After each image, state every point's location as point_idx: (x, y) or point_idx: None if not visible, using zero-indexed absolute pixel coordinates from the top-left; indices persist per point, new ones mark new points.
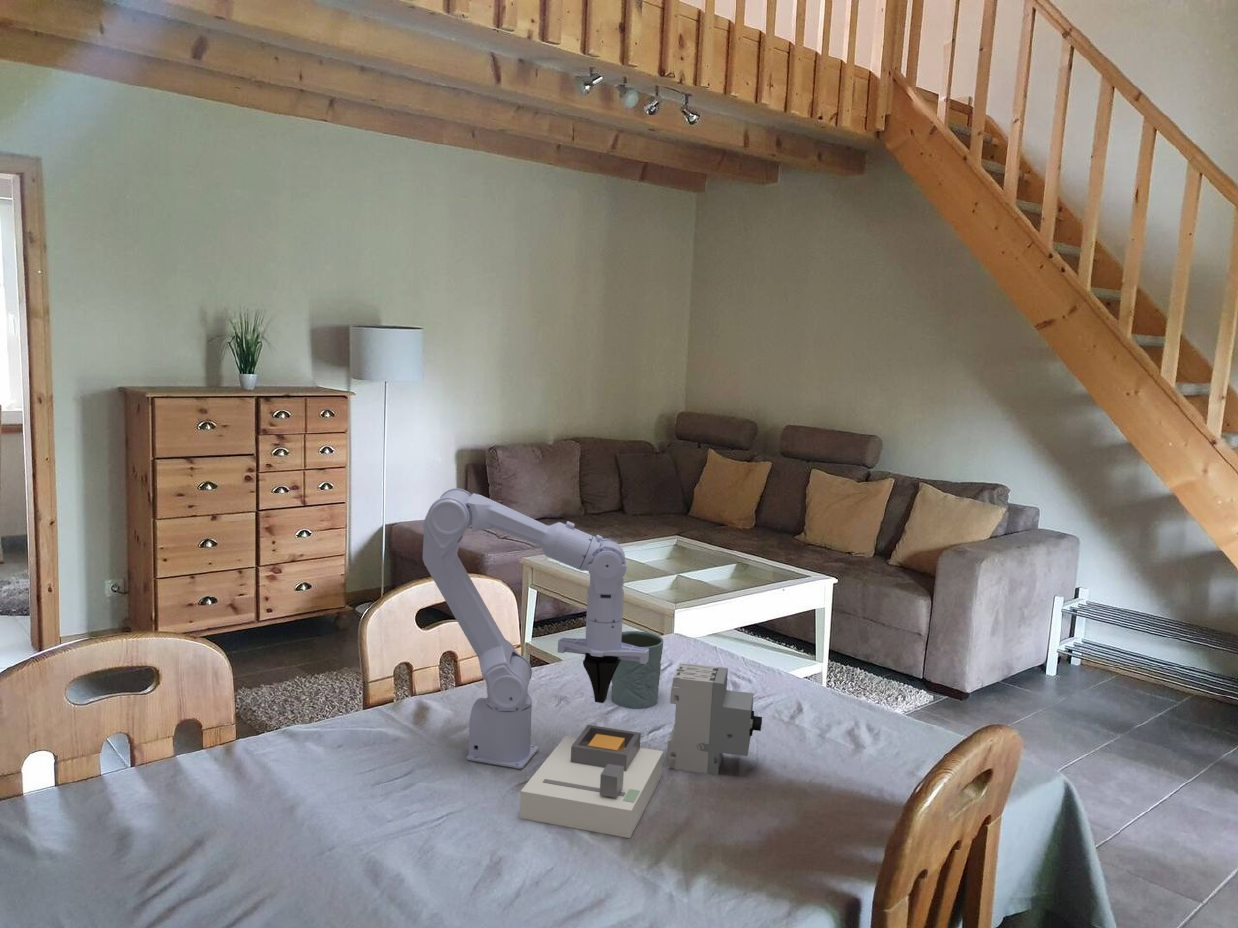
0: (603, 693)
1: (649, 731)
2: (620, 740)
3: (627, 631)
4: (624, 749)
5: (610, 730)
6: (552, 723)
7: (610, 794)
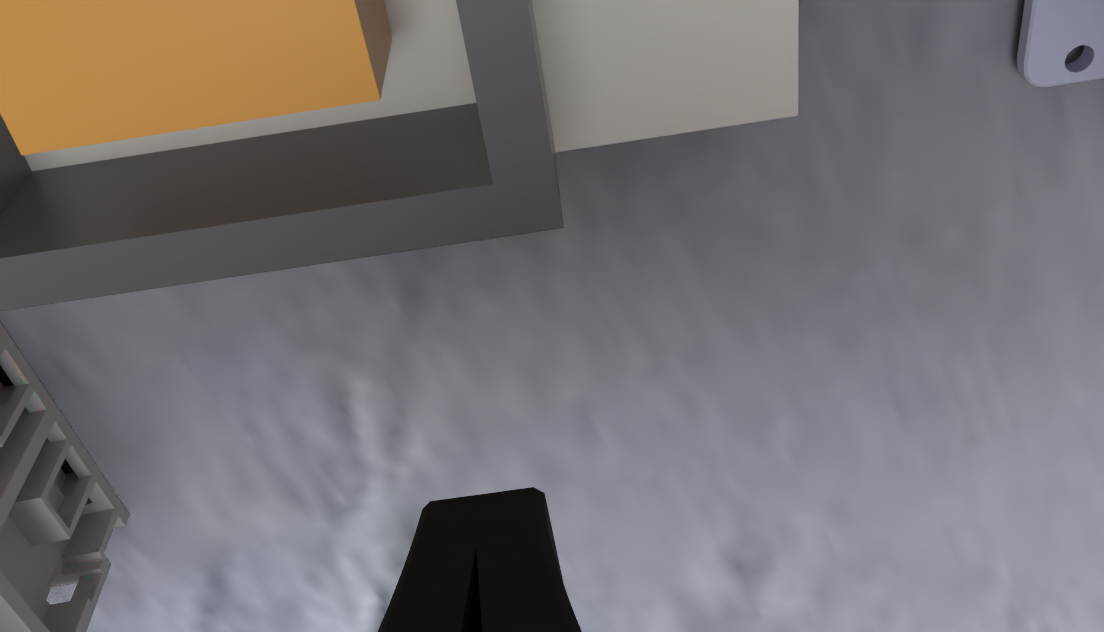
0: (392, 608)
1: None
2: (17, 70)
3: None
4: None
5: (254, 218)
6: (1014, 469)
7: None
